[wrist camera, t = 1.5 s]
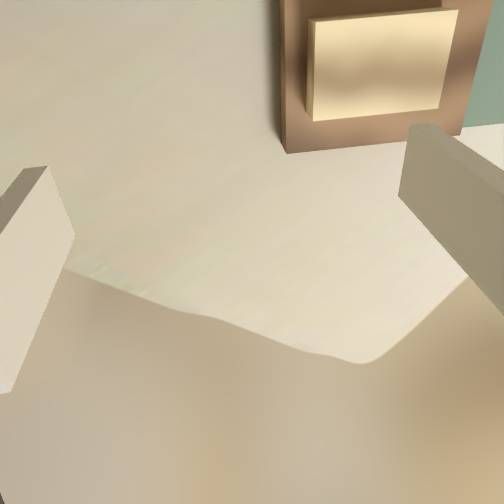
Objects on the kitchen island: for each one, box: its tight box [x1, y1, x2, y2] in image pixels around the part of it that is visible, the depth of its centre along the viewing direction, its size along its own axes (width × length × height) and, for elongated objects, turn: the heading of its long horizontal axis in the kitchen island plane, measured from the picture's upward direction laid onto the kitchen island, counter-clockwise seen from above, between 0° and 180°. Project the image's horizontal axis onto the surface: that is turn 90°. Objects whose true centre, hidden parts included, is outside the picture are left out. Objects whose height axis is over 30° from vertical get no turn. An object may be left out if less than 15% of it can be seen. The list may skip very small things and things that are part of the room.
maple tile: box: [306, 7, 459, 121], centre depth 27 cm, size 6×9×2 cm, turn 94°
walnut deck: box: [279, 0, 494, 154], centre depth 29 cm, size 12×14×2 cm
